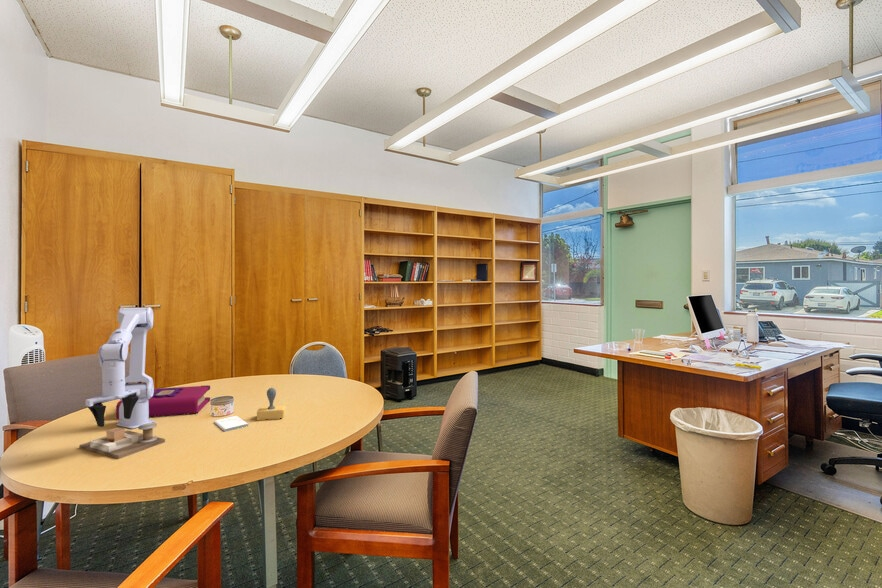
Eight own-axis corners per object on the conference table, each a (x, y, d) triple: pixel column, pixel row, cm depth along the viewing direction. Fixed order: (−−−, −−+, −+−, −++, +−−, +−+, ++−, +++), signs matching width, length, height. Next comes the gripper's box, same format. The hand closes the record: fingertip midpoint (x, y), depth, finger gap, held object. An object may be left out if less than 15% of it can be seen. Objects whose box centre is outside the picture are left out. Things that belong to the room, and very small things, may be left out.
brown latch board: (79, 448, 130) (79, 429, 129) (126, 433, 143) (126, 416, 142) (118, 458, 122) (118, 439, 122) (165, 441, 135) (164, 424, 135)
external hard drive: (224, 433, 145) (214, 424, 154) (248, 427, 151) (237, 419, 160) (224, 429, 145) (214, 420, 154) (248, 423, 151) (237, 415, 160)
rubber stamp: (256, 420, 157) (256, 390, 156) (259, 416, 162) (259, 386, 162) (283, 419, 159) (283, 389, 159) (285, 414, 165) (285, 385, 164)
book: (197, 415, 164) (197, 396, 163) (115, 421, 156) (115, 401, 155) (211, 400, 184) (210, 383, 183) (139, 404, 176) (139, 387, 175)
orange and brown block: (106, 445, 129) (106, 430, 129) (117, 442, 132) (116, 427, 132) (114, 447, 128) (114, 432, 127) (124, 444, 130) (124, 429, 130)
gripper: (95, 387, 121) (95, 431, 122) (145, 376, 135) (146, 416, 135) (81, 384, 124) (81, 428, 124) (132, 374, 137) (132, 414, 138)
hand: (114, 422), depth 130 cm, fingers open, 7 cm apart
